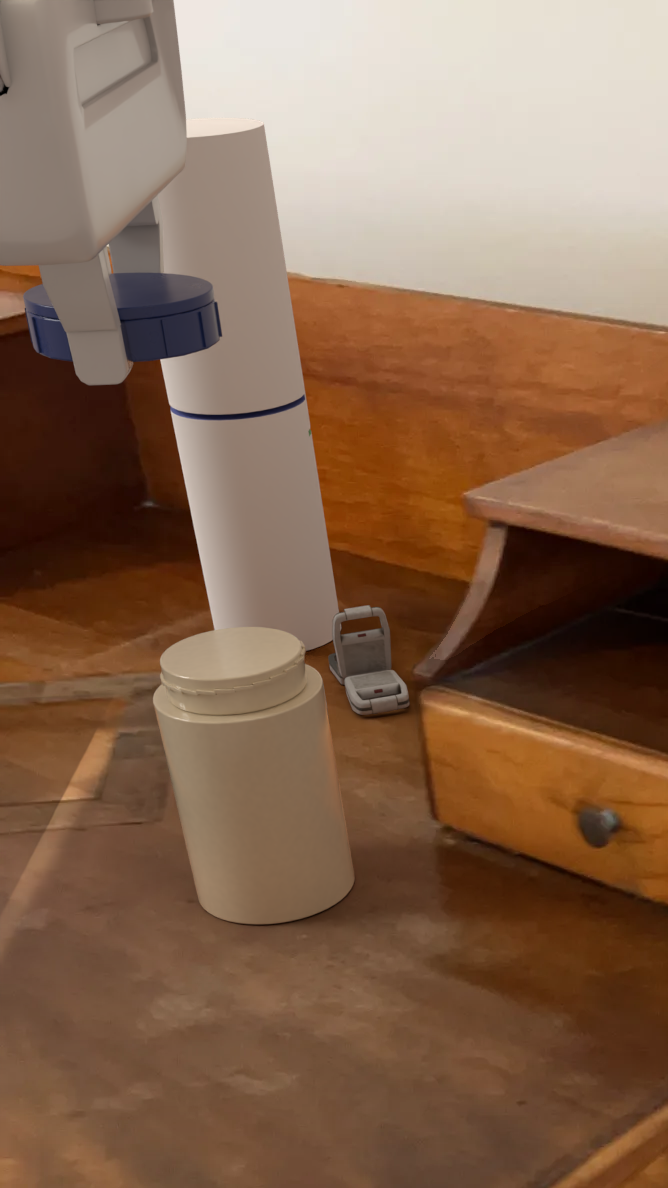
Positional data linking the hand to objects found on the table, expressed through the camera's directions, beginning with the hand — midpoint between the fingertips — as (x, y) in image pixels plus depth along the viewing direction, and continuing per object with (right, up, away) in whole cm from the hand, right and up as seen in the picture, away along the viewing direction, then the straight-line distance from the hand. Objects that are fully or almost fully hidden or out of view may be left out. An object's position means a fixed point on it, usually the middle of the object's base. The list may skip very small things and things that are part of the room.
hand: (128, 352), depth 65 cm
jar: (+3, -18, +10) cm, 21 cm away
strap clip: (+4, -5, +27) cm, 28 cm away
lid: (0, +1, -1) cm, 2 cm away
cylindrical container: (-2, 0, +34) cm, 34 cm away
